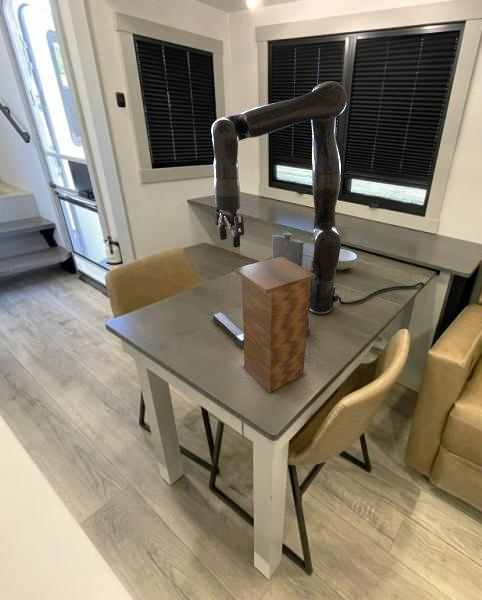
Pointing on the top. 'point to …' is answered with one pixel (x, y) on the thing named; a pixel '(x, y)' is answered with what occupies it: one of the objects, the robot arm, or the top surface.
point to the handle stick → (230, 328)
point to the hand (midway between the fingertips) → (229, 243)
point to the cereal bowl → (346, 259)
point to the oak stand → (275, 319)
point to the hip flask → (288, 248)
